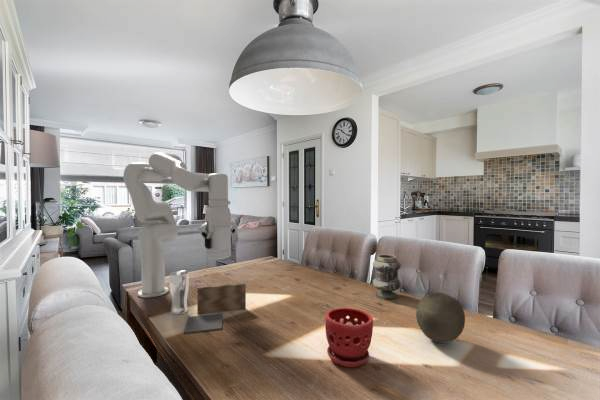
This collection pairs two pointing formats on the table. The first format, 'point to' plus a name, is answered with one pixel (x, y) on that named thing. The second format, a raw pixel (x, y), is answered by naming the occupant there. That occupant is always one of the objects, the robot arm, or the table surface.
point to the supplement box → (220, 243)
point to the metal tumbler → (179, 291)
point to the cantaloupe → (440, 317)
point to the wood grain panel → (221, 298)
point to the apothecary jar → (386, 276)
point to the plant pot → (348, 336)
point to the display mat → (203, 323)
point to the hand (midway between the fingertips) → (218, 246)
